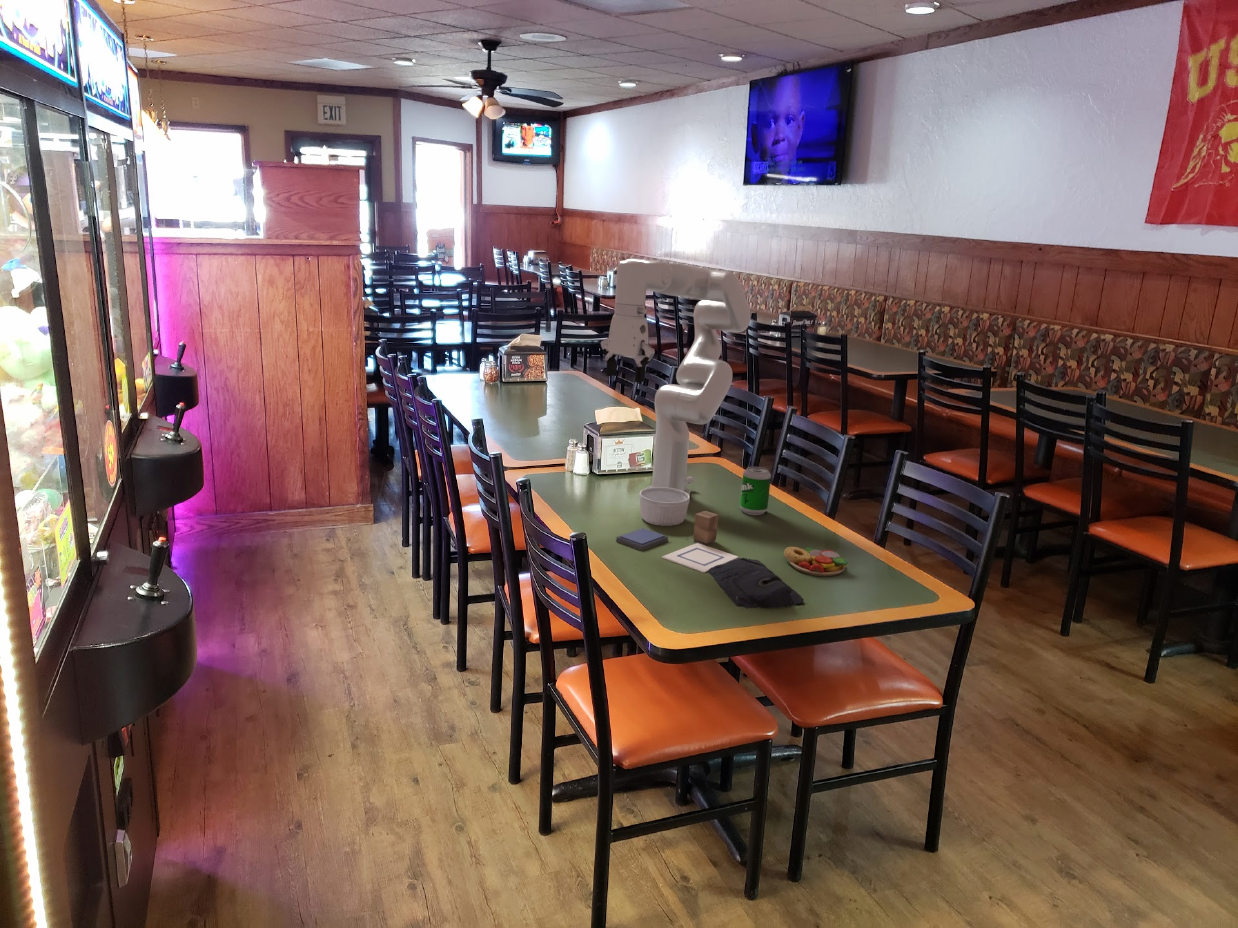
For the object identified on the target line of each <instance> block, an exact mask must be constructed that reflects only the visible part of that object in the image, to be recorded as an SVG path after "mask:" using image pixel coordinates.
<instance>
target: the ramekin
mask: <svg viewBox="0 0 1238 928" xmlns="http://www.w3.org/2000/svg"><path fill="white" fill-rule="evenodd" d="M638 495H639V496H638V498H639V507H640V509H639V510H640V517H641V518H642V519H643V521H644V522H646V523H648V524H651V525H655V526H659V525H660V526H661V527H674V526H678V525H681V524H682V523H683V522H684V521H685V519H686V517H687V512H688V508H689V504H690V499H691V497H690V496H691V495H690V496H689V495H688V494H687V493H686V492H684V491H681V490H678V489H674V488H667V487H652V488H647V487H646V488H644V489H641V490H640V491H639V494H638ZM680 523H681V524H680ZM673 525H674V526H673Z"/></svg>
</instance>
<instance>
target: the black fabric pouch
mask: <svg viewBox="0 0 1238 928" xmlns="http://www.w3.org/2000/svg"><path fill="white" fill-rule="evenodd" d="M707 572H708V573H709V575H710V576H711V577H712V578H713V580H714V581H715V582H716V584H717V585H718V586H719V588H720V589H721V590H722V591H723V592H724V594H725V595H726V596H727V597H728V598H729V599H730V600H731V601H732V603H733V604H734V605H735V606H736V607H743V608H745V609H747V610H748V609H759V608H760V609H761V608H763V609H778V608H779V609H780V608H788V607H792V606H797V605H801V604H804V601H805V600H804V598H803V596H802V595H801V594H799V593H798V592H797V591H796V589H793V588H792V587H791V586H789V585H788V584H787V583H786V582H784V581H783V580H782V579H781V577H779V576H778V575H776V573H774V572H773V571H772V570H771V569H769V568H768V567H767V566H766V565H765V564H764V563H763V562H762V561H760V560H758V559H751V558H746V557H739V558H737V559H735V560H732V561H729V562H727V563H725V564H720V565H716V566H714V567H712V568H710V569H709V570H708V571H707Z"/></svg>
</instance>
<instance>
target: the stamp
mask: <svg viewBox="0 0 1238 928" xmlns="http://www.w3.org/2000/svg"><path fill="white" fill-rule="evenodd" d="M718 523H719V514H717V513H714V512H710V511H707V510H703V511H700V512H697V513H695V515H694V528H693V537H692V539H693V542H695V541H696V543H699V544H702V545H705V546H709V545H710V544H713V543H715V542H716V540H717V534H718Z"/></svg>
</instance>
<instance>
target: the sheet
mask: <svg viewBox="0 0 1238 928" xmlns="http://www.w3.org/2000/svg"><path fill="white" fill-rule="evenodd" d="M738 558H740V557H739V556H738V555H734V554H732V553H730V552H729V553H728V552H725V551H723V550H719V549H717V548H714V547H710V546H709V545H704V544H701V543H698V542H696V543H693V544H691V545H687V546H686V547H683V548H680V549H678V550H676V551H672V552H671V553H668V554H665V555H662V556H661V559H664V560H667V561H670V562H673V563H675V564H678V565H681V566H684V567H687V568H689V569H692V570H694V571H697V572H700V573H703V574H705V573H707V572H708V570H709V569H710V568H712V567H714V566H716V565H720V564H725V563H727V562H729V561H732V560H736V559H738Z"/></svg>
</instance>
